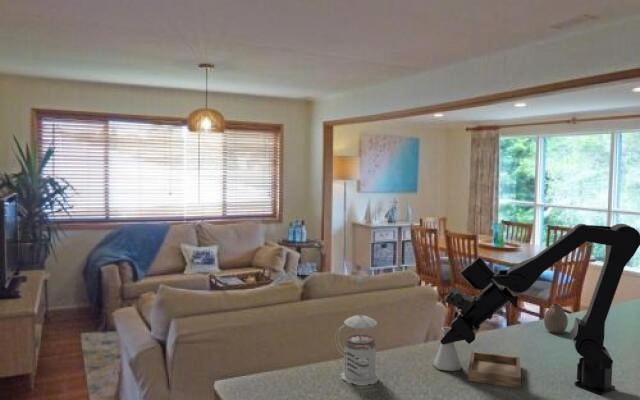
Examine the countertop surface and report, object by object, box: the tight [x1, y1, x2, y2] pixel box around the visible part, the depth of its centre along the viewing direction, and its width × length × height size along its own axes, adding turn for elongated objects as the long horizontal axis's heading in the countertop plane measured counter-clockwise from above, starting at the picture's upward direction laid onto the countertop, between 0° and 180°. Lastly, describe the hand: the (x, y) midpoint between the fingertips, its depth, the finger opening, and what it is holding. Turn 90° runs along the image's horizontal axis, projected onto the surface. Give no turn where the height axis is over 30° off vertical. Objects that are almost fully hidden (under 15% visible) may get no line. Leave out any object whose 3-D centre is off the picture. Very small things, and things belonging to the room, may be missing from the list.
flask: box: [432, 326, 462, 372], centre depth 133 cm, size 7×7×10 cm
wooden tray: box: [467, 350, 522, 389], centre depth 129 cm, size 12×14×2 cm
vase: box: [543, 303, 569, 335], centre depth 162 cm, size 7×7×9 cm
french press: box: [334, 276, 380, 386], centre depth 125 cm, size 10×12×25 cm
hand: (442, 340), depth 133 cm, fingers closed on flask, 3 cm apart
